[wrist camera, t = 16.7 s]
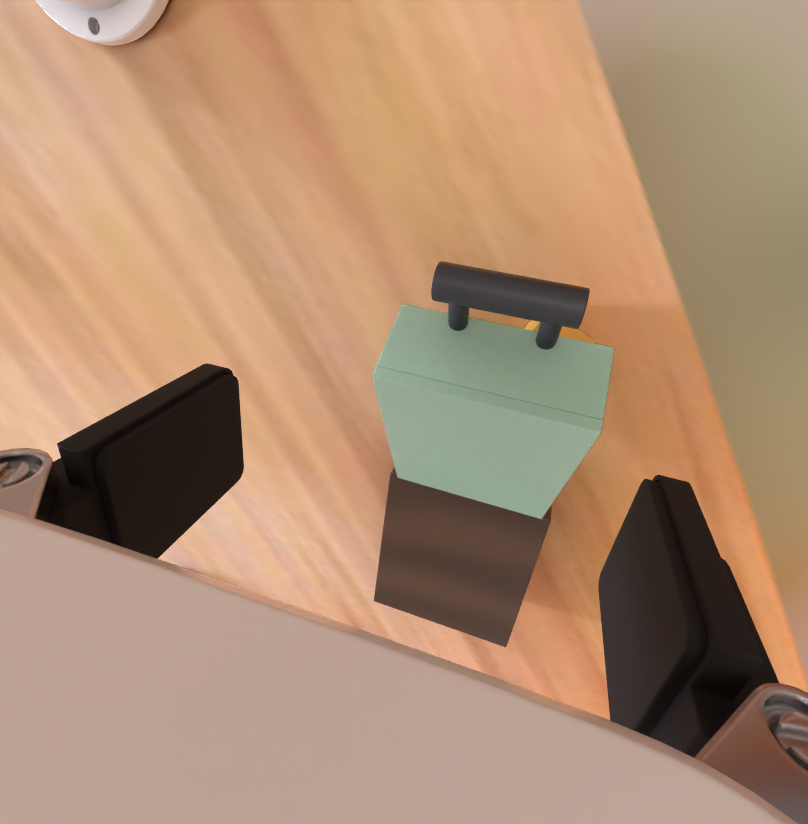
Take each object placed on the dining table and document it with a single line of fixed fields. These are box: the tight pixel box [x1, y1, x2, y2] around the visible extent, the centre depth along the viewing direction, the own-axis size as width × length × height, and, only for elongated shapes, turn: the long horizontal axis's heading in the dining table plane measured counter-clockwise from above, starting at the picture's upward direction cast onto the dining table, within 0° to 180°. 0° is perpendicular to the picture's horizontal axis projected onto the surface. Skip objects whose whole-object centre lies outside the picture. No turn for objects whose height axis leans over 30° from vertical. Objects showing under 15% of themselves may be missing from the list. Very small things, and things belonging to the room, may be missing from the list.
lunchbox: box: [372, 261, 614, 519], centre depth 25 cm, size 16×10×5 cm
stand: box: [374, 467, 552, 647], centre depth 36 cm, size 13×11×5 cm
